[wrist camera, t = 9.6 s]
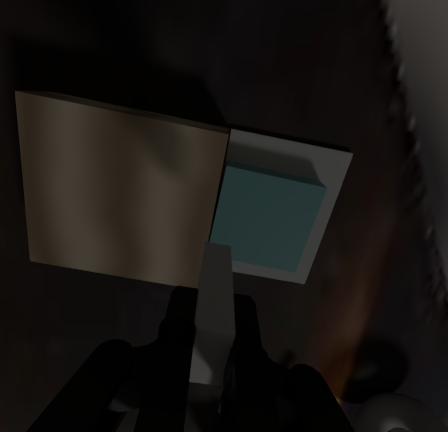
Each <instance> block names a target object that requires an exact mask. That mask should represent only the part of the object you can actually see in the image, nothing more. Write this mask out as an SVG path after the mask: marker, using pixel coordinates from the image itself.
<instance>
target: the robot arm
mask: <svg viewBox="0 0 448 432" xmlns="http://www.w3.org/2000/svg"><path fill="white" fill-rule="evenodd" d="M257 319H258V318H257V314H256V305H255V303H254V301H253V300H252V298H251V297H250V296H247V295H241V294H234V293H233V277H232V258H231V246H228V245H222V244H216V243H210V242H205V245H204V250H203V255H202V261H201V266H200V271H199V276H198V282H197V288H191V287H185V286H177V287H176V288H175V289H174V290H173V291H172V293H171V297H170V301H169V304H168V308H167V312H166V316H165V319H164V320H162V322H161V324H160V325H159V332H158V338H157V339H156V340H155V341H154V342H153V343H150V344H148V345H145V346H140V347H132V346H131V344H130V343H128V342H126V341H125V340H120V339H113V340H108V341H106V342H104V343H102V344H101V345H99V346H98V347H97V348H96V349H95V350H94V351H93V353H92V354H91V355H90V356H89V357H88V359H87V360H86V361H85V362H84V363H83V365H82V366H81V367H80V368H79V369H78V370H77V372H76V373H75V374H74V375H73V376H72V378H71V379H70V380H69V381H68V382H67V384H66V385H65V386H64V387H63V388H62V390H61V391H60V392H59V393H58V394H57V396H56V397H55V398H54V399H53V400H52V402H51V403H50V404H49V405H48V406H47V408H46V409H45V410H44V411H43V412H42V414H41V415H40V416H39V417H38V418H37V419H36V421H35V422H34V423H33V424H32V425H31V427H30V428H29V429H28V430H27V431H26V432H116V430H117V429H118V427H119V425H120V423H121V421H122V420H123V418H124V416H125V414H126V412H127V411H128V410H132V409H137V408H140V409H139V413H138V417H137V421H136V425H135V428H134V432H183V431H184V422H185V414H186V405H187V396H188V388H189V382H196V383H203V384H211V385H219V386H221V385H222V382H223V378H224V390H223V393H222V397H221V400H220V404H219V407H218V412H217V413H220V412H221V432H355V431H354V429H353V427H352V426H351V424H350V422H349V421H348V419H347V417H346V416H345V414H344V412H343V410H342V409H341V407H340V405H339V404H338V402H337V400H336V399H335V397H334V395H333V393H332V392H331V390H330V388H329V387H328V385H327V383H326V382H325V380H324V378H323V377H322V376H321V374H320V373H319V372H318V371H317V370H315V369H314V368H313V367H311V366H308V365H306V364H296V365H294V366H293V367H292V368H291V369H288V368H286V367H284V366H281V365H279V364H277V363H275V362H274V361H272V360H271V359H270V358H269V357H268V355H267V352H266V351H265V350H264V349H263V348H262V344H261V337H260V331H259V325H258V320H257Z"/></svg>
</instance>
